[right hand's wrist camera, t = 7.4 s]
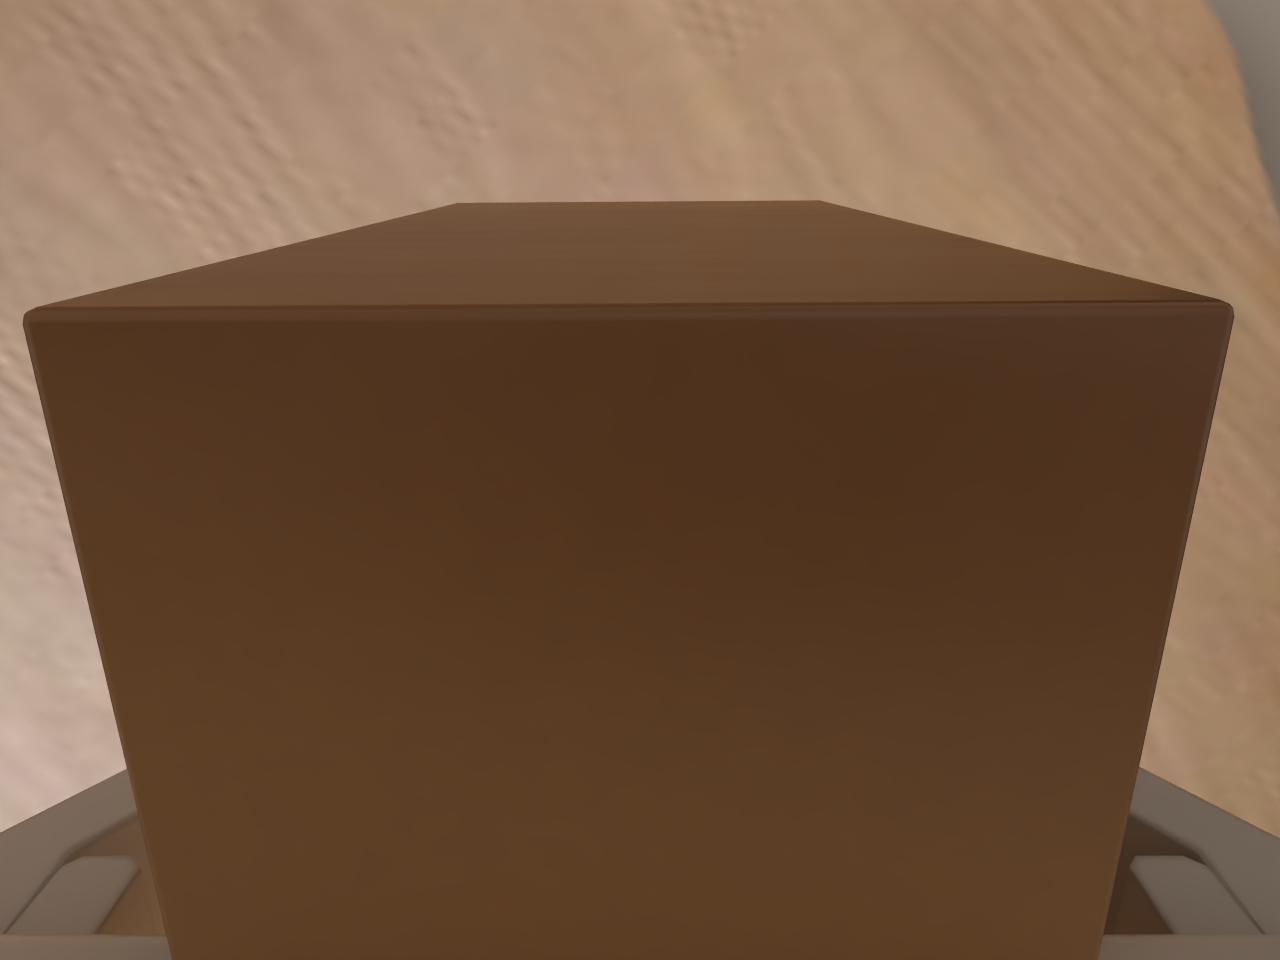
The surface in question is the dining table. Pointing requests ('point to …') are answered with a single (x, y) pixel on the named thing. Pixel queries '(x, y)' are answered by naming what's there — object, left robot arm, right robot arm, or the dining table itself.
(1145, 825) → the right robot arm
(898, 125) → the dining table surface
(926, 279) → the beam
